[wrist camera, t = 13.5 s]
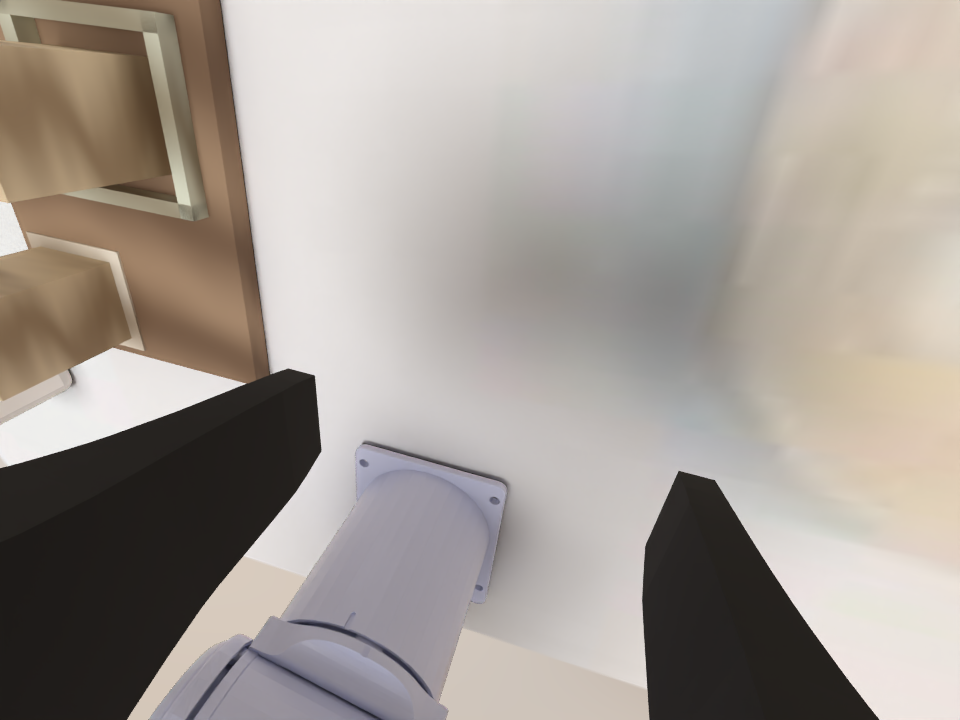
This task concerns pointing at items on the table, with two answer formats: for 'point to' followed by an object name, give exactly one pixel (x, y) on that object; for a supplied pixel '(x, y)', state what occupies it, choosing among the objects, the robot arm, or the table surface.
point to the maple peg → (75, 120)
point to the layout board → (139, 215)
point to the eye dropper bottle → (34, 396)
